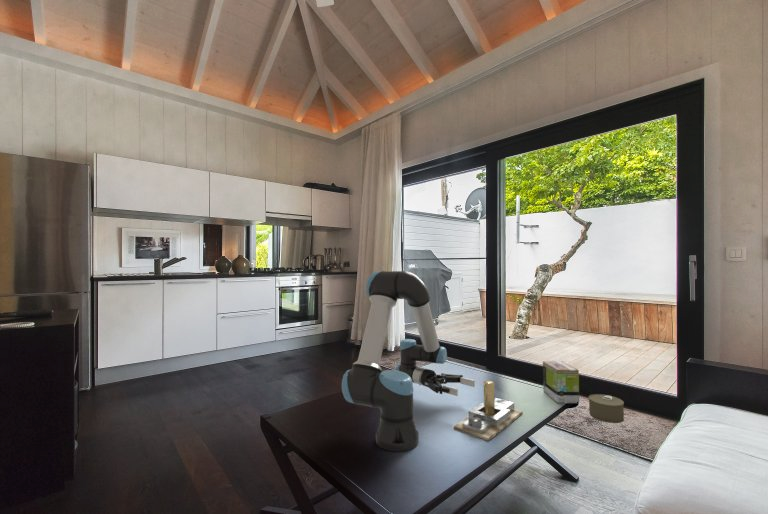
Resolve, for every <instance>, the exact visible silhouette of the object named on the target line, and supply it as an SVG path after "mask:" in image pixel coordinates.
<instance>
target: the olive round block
mask: <svg viewBox="0 0 768 514" xmlns="http://www.w3.org/2000/svg"><path fill="white" fill-rule="evenodd" d="M588 404H589V406H588V407H589V409H588V410H589V416H591V418H593V419H595V420H597V421H600V422H604V423H609V424H620V423H623V422H624V421H625V417H624V415H625V412H624V406H625V405H624V404H625V402H624V401H623V399H621V398H618V397H617V396H612V395H609V394H603V393H593V394H589V395H588Z"/></svg>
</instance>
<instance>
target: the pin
mask: <svg viewBox="0 0 768 514" xmlns="http://www.w3.org/2000/svg"><path fill="white" fill-rule="evenodd" d="M495 398H496V397H495V382H494V381H492V380H485V381H483V402H484V413H486V414H490V415H493V416H494V415H495Z"/></svg>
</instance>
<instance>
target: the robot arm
mask: <svg viewBox="0 0 768 514" xmlns="http://www.w3.org/2000/svg"><path fill="white" fill-rule="evenodd" d="M365 286H366V294H367V296H368V299H369V301H370V308H369V312H368V317H367V320H366V325H365V330H364V333H363V337H362V342H361V347H360V350H359V353H358V358H357V360H356V361H355V362H353V363H352V367H351V369H348V370H345V373H343V376H342V379H341V392H342V395H343V398H344V399H345V401H346V402H348V403H351V404H354V405H356V406H364V407H370V408H375V409H379V411H380V419H379V422H378V424H377V425H378V426H377V430H376V433H375V443H376V445H377V446H378V447H379V448H381V449H383V450H385V451H390V452H398V453H399V452H407V451H410V450H412V449H414V448H415V447H417V446H418V444H419V442H420V439H419V437H420V436H419V431H418V430H417V427H416V422H415V420H414V385H413V384H416V385H419V386H423V387H426V388H429V389H430V390H431V391H433V392H434V393H436V394H439V395H443V393H444V394H449V395H451V396H456V397H458V395H459V393H458V392H459V391H458V390H459V389H458V388H456V387H453V386H449V385H446V384H448V383H449V384H452V383H454V384H455V383H457V384H459V383H460V384H461V385H464V386H469V387H472V388H474V387H476V386H475V383H476V382H475V379H472V378H471V379H470V378H468V377H467V378H466V377H464V375H462V374H452V373H451V374H449V373H443V372H442V373H440V374H437V373H436V372H435V370H433V369H429V368H425V367H421V366H417V362H421V363H422V362H423V363H429V364H436V365H437V364H438V365H439V364H440V365H441V364H442V365H443V364H445V363H446V361H447V359H448V358H447V356H448V352H447V348H446V347H444V346H440V343H439V339H438V334H437V330H436V326H435V322H434V319H433V314H432V311H431V307H430V300H431V297H430V293H429V289H428V288H427V286H426V285H425V283H424V281H422V280H421V278H420V277H418V276H417V275H416V274H415V273H413V272H410V271H407V270H392V271H391V270H388V271H387V270H380V271H374V272H373V273H371V274H370V275H369V276H368V280H367V282H366V285H365ZM398 300H405V301H407V305H408V306H409V307H411V310H412V313H413V316H414V320H415V324H416V327H417V331H418V335H419V338H420V341H421V344H417V340H415V339H412V338H404V339H402V340H401V341H400V347H399V348H400V349H399V353H400V363H398V364H397V365H396V369H391V370H390V369H386V370H383V369H382V367H381V366H380V365H381V360H382V356H383V350H384V346H385V340H386V335H387V331H388V327H389V321H390V318H391V314H392V313H391V312H392V308H394V307H395V306H396V305H397V304H398V303H397V301H398Z"/></svg>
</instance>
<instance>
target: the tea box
mask: <svg viewBox="0 0 768 514" xmlns="http://www.w3.org/2000/svg"><path fill="white" fill-rule="evenodd" d="M542 389H543V390H542V391H543V393H545V394H546V395H547V396H548V397H550V398H551V399H552V400H553V401H555V402H556V403H557V402H567V403H566V404H580V373H579V369H578V368H576V367H574V366H572V365H570V364H569V363H566V362H564V361H563V360H562V361H561V360H560V361H559V360H556V361H552V360H551V361H549V360H547V361H542ZM577 402H578V403H577Z"/></svg>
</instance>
